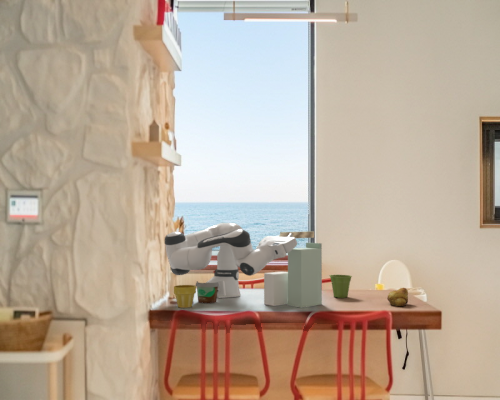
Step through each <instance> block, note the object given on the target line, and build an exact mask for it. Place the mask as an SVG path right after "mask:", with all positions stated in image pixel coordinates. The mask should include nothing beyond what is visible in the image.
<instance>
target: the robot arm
mask: <svg viewBox="0 0 500 400" xmlns="http://www.w3.org/2000/svg"><path fill="white" fill-rule="evenodd" d="M250 235H251V234H250V233H249V232H248V231H246V230H245V229H244V228H243V227H241V225H239V224H237V223H235V222H221V223H218V224H214V225H212V226H209V227H207V228H204V229H201V230H198V231H195V232H191V233H188V234H186V235H185V234H184V233H183V232H181V231H172V232H170V233H167V234H166V235H165V237H164V246H165V253H166V257H167V260H168V263H169V266H170V270H171V273H172V274H173V275H175V276H183V275H186V274H189V272H191V271H197V270H198V271H200V270H204V269H205V268H207V267H208V266H209V264H210V262H211V261H212V255H213V249H215V248H219V250H218V252H217V256H216V257H217V260H216V261H217V263H216V264H217V267H216V269H215V270H213V271H212V274H213V276H212V277H211V278H210V279H209V280H207V281H206V282H205V283H216V282H218V283H219V286H218V290H217V298H218V299H224V298H225V299H226V298H235V297H236V298H237V297H240V296H241V295H242V294H241V291H240V285H239V278H240V276H239V275H240V273H239V269H240V271H241V273H242V274H244V275H246V276H249V277H251V276H254V275H256V274H257V273H259V272H260V271H262V270H263V269H264V268H265V267H266V266H267V264H269V263H271V262H272V261H273V260H277V259H281V258H282V259H283V258H285V257H286V256H287V254H288V252H290V251H291V250H292V249H293V248H296V247H297V246H298V242H297V238H295V237H293V235H292V233H289V234H288V237H280V234H278V235H276V236H274V235H266V236H264V237H263V238H262V239H260V241H259V242H258V244H257V245H256V246H255V248H256V249H254V247H253V245H252V239H251V236H250Z"/></svg>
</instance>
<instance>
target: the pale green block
mask: <svg viewBox="0 0 500 400" xmlns="http://www.w3.org/2000/svg"><path fill="white" fill-rule="evenodd" d="M322 245H323V243H321V242H319V243H318V242H305V247H297V248H296V247H295V248H293V249H292V250H291V251H290V252H288V253H287V272H288V304H287V306H289V307H295V308H300V309H303V308H311V307H315V306H322V305H323V302H322V301H323V296H322V295H323V285H322V283H323V281H322V280H323V279H322V278H323V274H322V272H323V269H322V264H323V263H322V259H323V257H322V256H323V255H322V254H323V253H322V252H323V251H322V249H323V248H322Z"/></svg>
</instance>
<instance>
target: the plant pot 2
mask: <svg viewBox="0 0 500 400" xmlns="http://www.w3.org/2000/svg"><path fill="white" fill-rule="evenodd" d="M329 277H330V281H331V287H332V295H333V297H334V298H337V299H341V298H342V299H345V298H348V297H349V290H350V283H351V281H352V280H351V279H352V277H353V276H352V275H349V274H330V275H329Z"/></svg>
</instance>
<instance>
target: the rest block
mask: <svg viewBox="0 0 500 400" xmlns="http://www.w3.org/2000/svg"><path fill="white" fill-rule="evenodd" d="M263 275H264V276H263V277H264V278H263V282H264V283H263V288H264V289H263V291H264V292H263V295H264V296H263V304H264V305H265V306H266V305H267V306H271V307H277V306H278V307H279V306H283V305H288V271H275V272H273V271H271V272H264V273H263Z"/></svg>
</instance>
